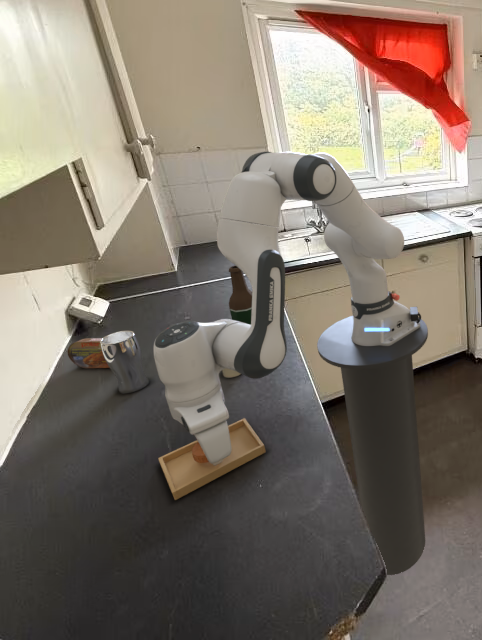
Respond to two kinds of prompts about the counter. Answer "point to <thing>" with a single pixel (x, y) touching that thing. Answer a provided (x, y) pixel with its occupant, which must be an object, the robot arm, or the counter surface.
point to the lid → (199, 454)
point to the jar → (229, 373)
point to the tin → (87, 353)
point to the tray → (193, 475)
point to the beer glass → (125, 360)
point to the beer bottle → (240, 297)
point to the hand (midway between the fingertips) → (212, 452)
